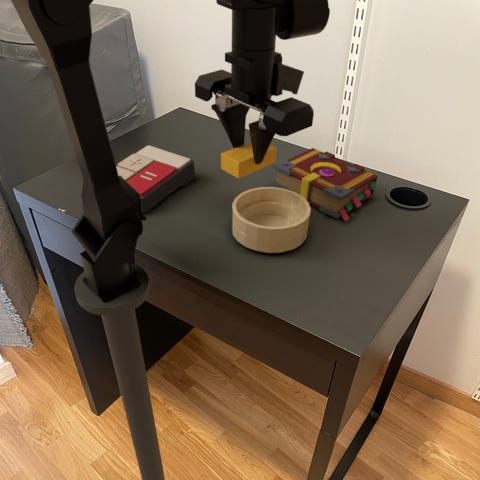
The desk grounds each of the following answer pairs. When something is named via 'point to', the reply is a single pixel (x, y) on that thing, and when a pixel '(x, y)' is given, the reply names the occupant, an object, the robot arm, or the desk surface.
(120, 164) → the calculator
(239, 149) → the block
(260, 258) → the desk surface
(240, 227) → the bowl
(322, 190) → the decorative book
